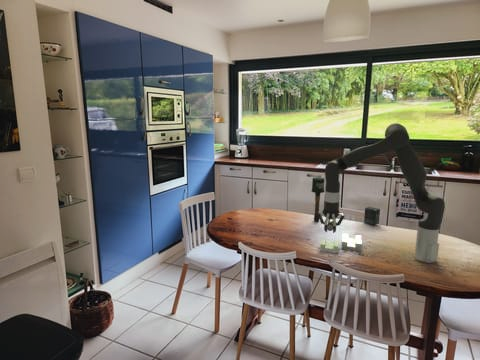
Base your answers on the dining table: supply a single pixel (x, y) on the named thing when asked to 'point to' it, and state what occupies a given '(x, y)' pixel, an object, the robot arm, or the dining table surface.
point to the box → (371, 215)
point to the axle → (330, 225)
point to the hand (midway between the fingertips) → (329, 231)
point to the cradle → (329, 246)
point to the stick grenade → (317, 193)
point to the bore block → (351, 242)
